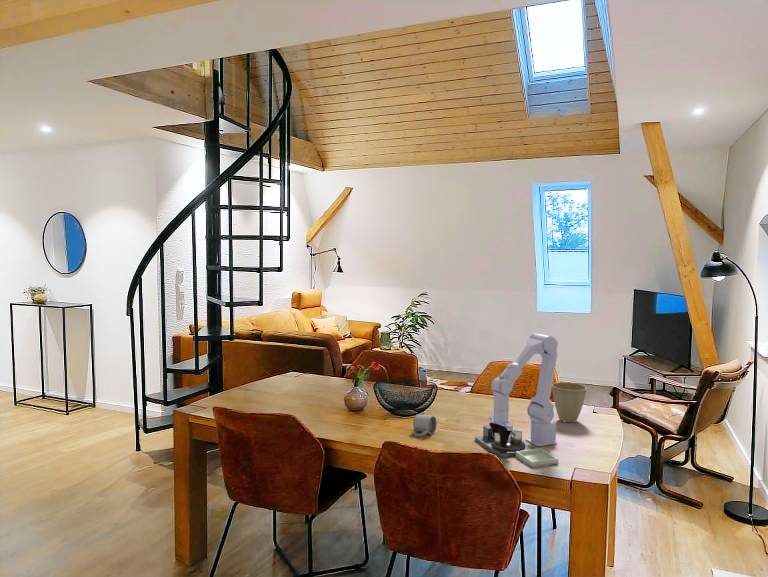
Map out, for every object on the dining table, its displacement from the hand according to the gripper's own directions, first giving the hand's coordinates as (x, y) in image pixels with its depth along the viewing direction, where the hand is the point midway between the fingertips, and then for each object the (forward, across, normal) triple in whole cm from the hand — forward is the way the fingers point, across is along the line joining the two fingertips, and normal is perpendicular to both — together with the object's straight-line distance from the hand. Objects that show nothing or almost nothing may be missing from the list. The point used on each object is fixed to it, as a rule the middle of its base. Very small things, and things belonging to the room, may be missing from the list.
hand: (500, 443), depth 222 cm
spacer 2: (0, 0, +7) cm, 7 cm away
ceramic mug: (+3, -27, -21) cm, 34 cm away
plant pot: (+3, -24, +48) cm, 54 cm away
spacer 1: (0, 0, 0) cm, 0 cm away
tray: (+3, +14, +8) cm, 16 cm away
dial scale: (+3, -2, +4) cm, 5 cm away
